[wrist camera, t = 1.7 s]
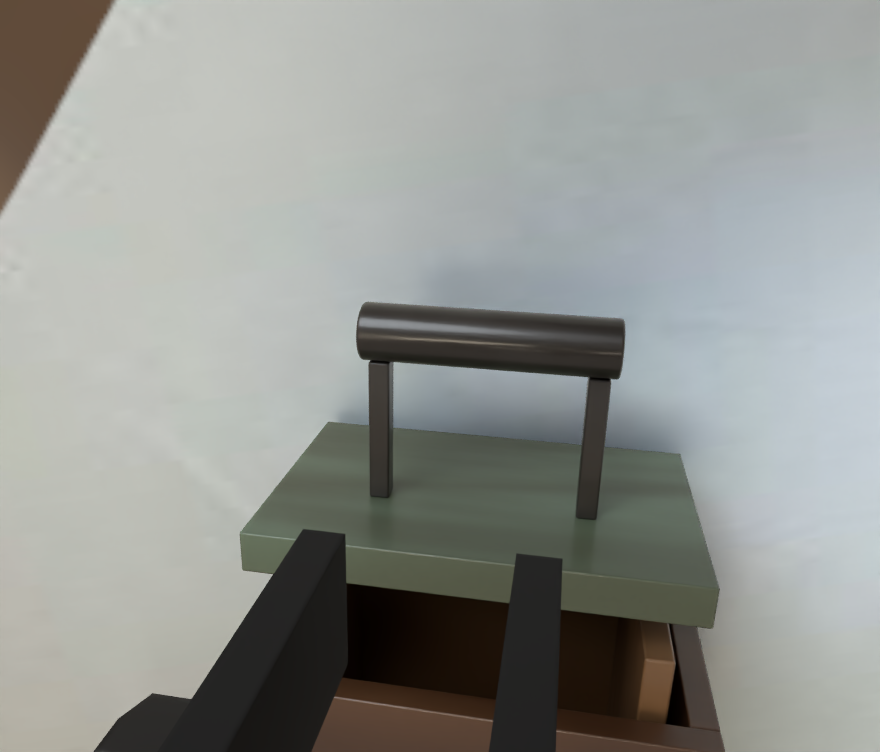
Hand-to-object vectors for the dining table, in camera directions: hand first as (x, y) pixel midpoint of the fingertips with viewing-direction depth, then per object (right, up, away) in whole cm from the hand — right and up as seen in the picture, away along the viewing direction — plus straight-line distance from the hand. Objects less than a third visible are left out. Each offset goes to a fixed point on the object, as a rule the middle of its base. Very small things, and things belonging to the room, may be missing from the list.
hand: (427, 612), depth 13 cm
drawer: (+2, -2, +15) cm, 15 cm away
